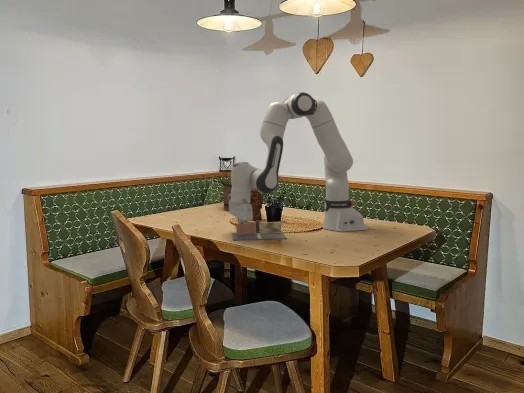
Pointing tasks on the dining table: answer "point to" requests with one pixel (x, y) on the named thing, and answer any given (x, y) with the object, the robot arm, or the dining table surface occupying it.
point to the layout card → (259, 236)
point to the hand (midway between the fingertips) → (240, 227)
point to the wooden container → (227, 193)
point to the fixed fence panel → (268, 227)
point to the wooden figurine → (256, 204)
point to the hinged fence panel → (245, 228)
